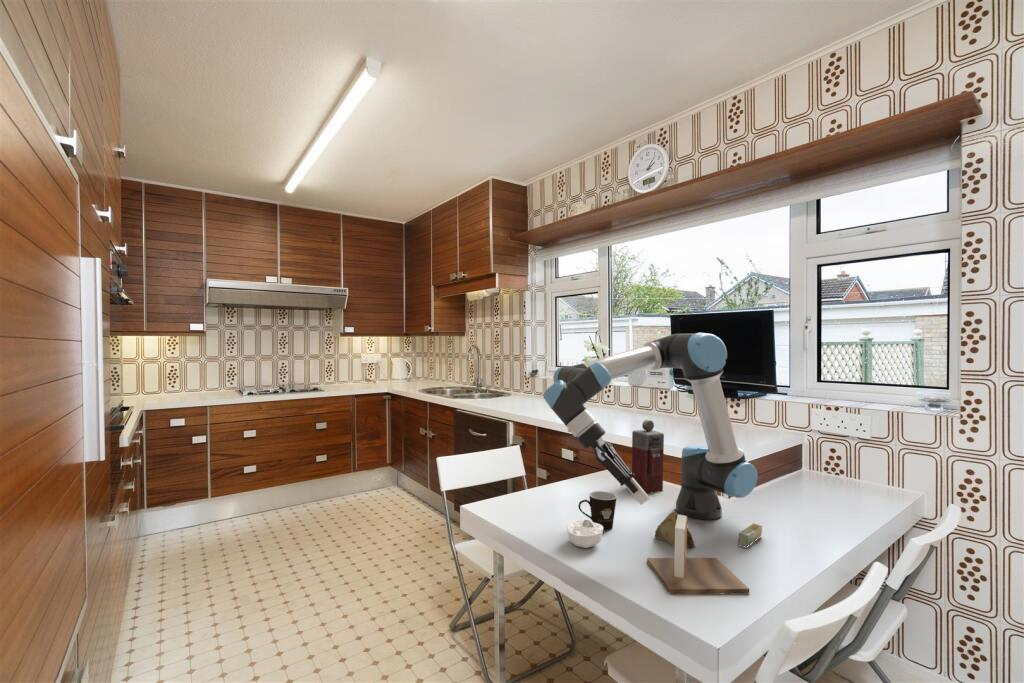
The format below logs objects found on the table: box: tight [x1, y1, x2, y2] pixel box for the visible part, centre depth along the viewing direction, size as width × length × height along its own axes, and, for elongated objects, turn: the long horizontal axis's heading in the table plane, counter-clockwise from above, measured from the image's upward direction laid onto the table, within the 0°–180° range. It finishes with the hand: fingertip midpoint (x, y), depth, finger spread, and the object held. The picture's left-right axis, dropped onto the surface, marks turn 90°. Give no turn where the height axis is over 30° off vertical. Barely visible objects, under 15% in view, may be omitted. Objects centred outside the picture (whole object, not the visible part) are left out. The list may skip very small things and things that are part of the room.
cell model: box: [567, 518, 604, 549], centre depth 136 cm, size 10×12×7 cm
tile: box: [673, 514, 688, 578], centre depth 120 cm, size 2×10×12 cm, turn 157°
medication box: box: [737, 523, 763, 547], centre depth 141 cm, size 12×3×4 cm, turn 134°
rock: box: [654, 511, 696, 549], centre depth 140 cm, size 11×9×10 cm
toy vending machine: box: [631, 419, 665, 494], centre depth 190 cm, size 9×11×28 cm
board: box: [646, 557, 750, 595], centre depth 118 cm, size 19×16×1 cm
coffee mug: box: [577, 490, 618, 532], centre depth 150 cm, size 12×9×10 cm
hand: (645, 500), depth 124 cm, fingers closed
